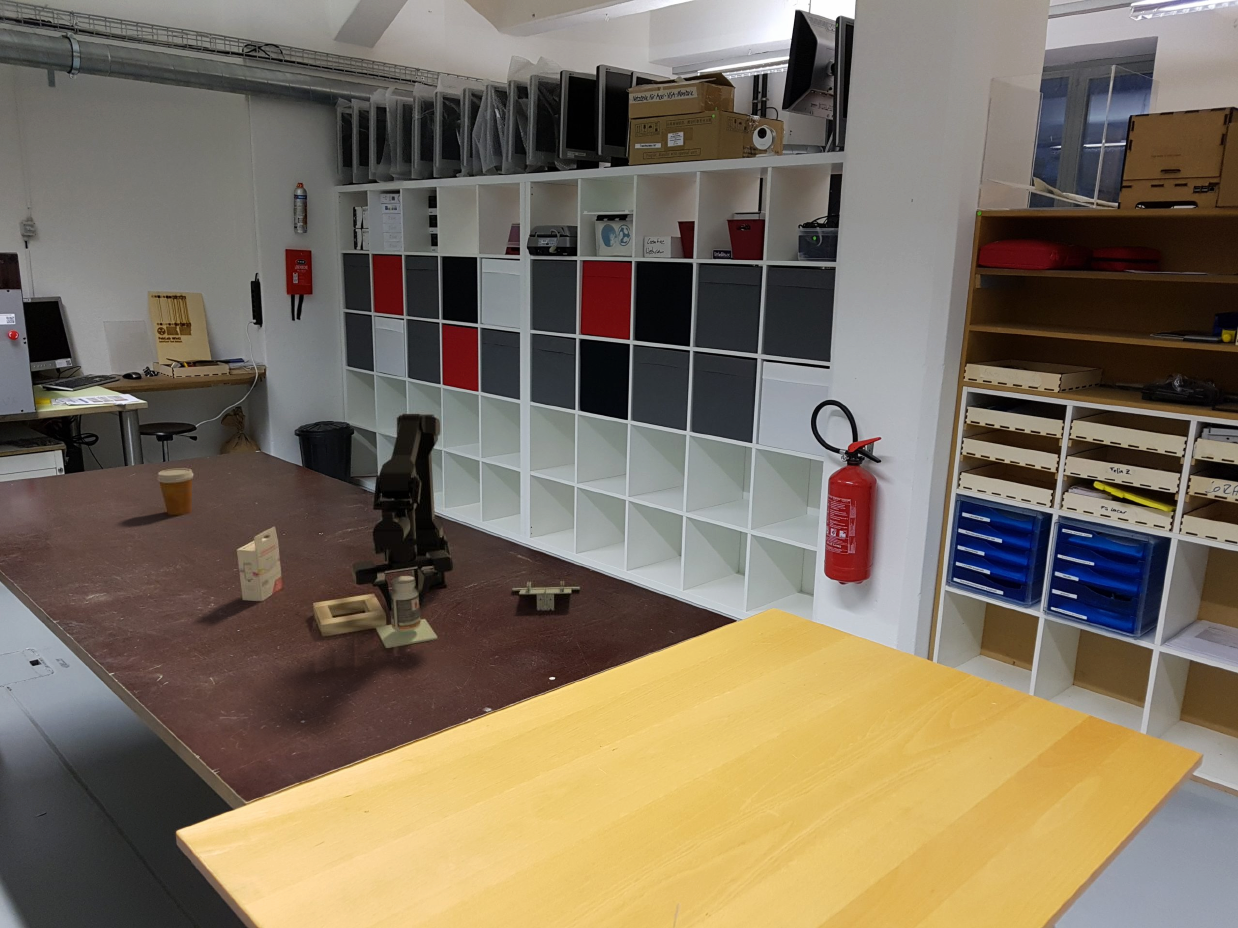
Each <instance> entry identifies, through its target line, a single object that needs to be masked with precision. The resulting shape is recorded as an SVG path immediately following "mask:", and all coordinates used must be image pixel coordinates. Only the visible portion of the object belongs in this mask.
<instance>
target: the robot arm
mask: <svg viewBox="0 0 1238 928" xmlns="http://www.w3.org/2000/svg"><path fill="white" fill-rule="evenodd" d="M440 434H441V421H440V419H439V418H437V417H435V415H434V414H432V413H431V414H423V413H422V414H421V413H402V414H399V415H398V416H397V417H396V438H395V442H394V444H393V445H394V446H393V450H392V453H391V458H390V459H389V460H387V461H386V462H384V463H383V464H382V466H381V468H380V470H379V473H378V475H376V478H375V487H374V495H373V496H374V498H373V506H372V507H373V508H372V509H373V511H381V517H380V519H379V520H378V521H377V522H376V524H375V526H374V527H373V531H372V538H371V542H372V543H371V546H372V547H371V548H372V554H373V555H374V556H375V555H382V558H383V560H384V562H386V563H384V564H383V563H381V564H377V565H375V563H374V562H373V560H372V559H370V560H364V561H358V562H357V561H356V562H354V563H352V565H351V567H350V568H351V569H350V571H351V577H352V579H353V580H354V583H355V584H356V585H357V586H361V585H362V586H363V585H368V584H370V585H371V587H372V588H373V587H374V588H375V587H377V588H378V589H379V591H380V594H381V597H382V598H383V600H384V603H385V605H386V608H387V611H389V612H391V600H390V587H389V583H388V580H387V579H386V576H385V575H388V574H389V575H390V574H395V573H401V572H407V571H411V577H414V578H415V582H416V585H415V588H416V589H417V590H418V593H419V606H420V607H422V606H423V603H424V601H425V598H426V595H427V592H428V591H429V590H432V589H438V588H445V587H448V583H447V582H446V574H445V573H447V572H451V571H453V570H454V562H453V558H452V557H451V549H450V545H449V541H448V540H447V536H446V535H444V528H443V527H444V526H443V524H442V523H441V521H440V520H439V519H438V518H437V517H436V514H435V513H436V512H435V497H434V494H435V493H434V478H433V475H434V474H433V459H432V458H433V457H432V452H433V450H434V449H435V447H436V445H437V443H438V441H439V436H440ZM381 499H382V500H381Z"/></svg>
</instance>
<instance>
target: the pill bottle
mask: <svg viewBox="0 0 1238 928" xmlns="http://www.w3.org/2000/svg"><path fill="white" fill-rule="evenodd" d="M415 585H416V582H415V578H414V577H412V575H401V576H397V577H394V578H392V579H391V580H390V587H391V588H392V590H391V591H389V593H390V600H391V611H390V623H391V624H390V625H392V628H393V629H394V630H396V631H400V632H407V631H412V630H415V629H417V628H418V627H419V626H420V624H421V610H420V607H421V606H419V593H418V588H417V587H416V586H415Z"/></svg>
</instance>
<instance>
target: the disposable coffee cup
mask: <svg viewBox="0 0 1238 928" xmlns="http://www.w3.org/2000/svg"><path fill="white" fill-rule="evenodd" d="M193 478H194V473H193V470H192V469H191V468H188V467H187V468H186V467H185V468H184V467H183V468H182V467H181V468H179V467H177V468H169V469H164V470H160V471H159V472H158V474H157V476H156V479H157V480H158V482H159V486H160V490H161V493H162V494H161V495H162V498H163V501H164V506H165V509H166V513H167V514H168V515H169V516H180V515H181V516H182V515H187V514H189V513H190V512H191V513H192V503H193V500H192V499H193V493H192V492H193Z"/></svg>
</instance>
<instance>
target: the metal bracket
mask: <svg viewBox="0 0 1238 928" xmlns="http://www.w3.org/2000/svg"><path fill="white" fill-rule="evenodd" d="M572 590H573V591H574V590H577V591H579V590H581V588H580V586H565V581H564V580H563V581H560V586H557V587H555V586H554V587H553V586H551V587H532V582H531V581H530V582H529V581H527V583H526V587H513V588H512V589H511V591H512V592H517V591H518V592H519V593H518V594H519V595H536V611H555V595H560V594H561V595H562V594H572Z"/></svg>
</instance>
